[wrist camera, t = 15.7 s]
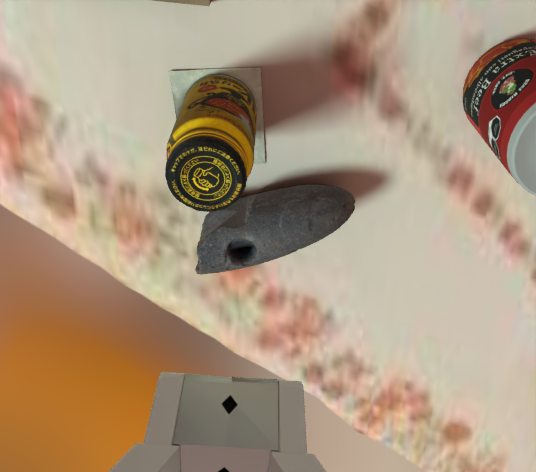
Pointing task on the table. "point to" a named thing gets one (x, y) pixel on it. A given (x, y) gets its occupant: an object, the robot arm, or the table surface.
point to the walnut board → (190, 2)
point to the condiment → (214, 135)
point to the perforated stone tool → (270, 226)
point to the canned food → (506, 106)
